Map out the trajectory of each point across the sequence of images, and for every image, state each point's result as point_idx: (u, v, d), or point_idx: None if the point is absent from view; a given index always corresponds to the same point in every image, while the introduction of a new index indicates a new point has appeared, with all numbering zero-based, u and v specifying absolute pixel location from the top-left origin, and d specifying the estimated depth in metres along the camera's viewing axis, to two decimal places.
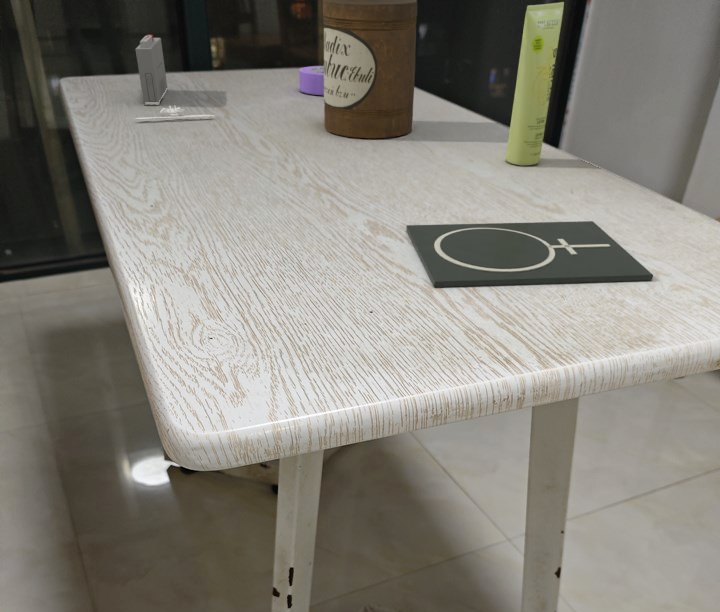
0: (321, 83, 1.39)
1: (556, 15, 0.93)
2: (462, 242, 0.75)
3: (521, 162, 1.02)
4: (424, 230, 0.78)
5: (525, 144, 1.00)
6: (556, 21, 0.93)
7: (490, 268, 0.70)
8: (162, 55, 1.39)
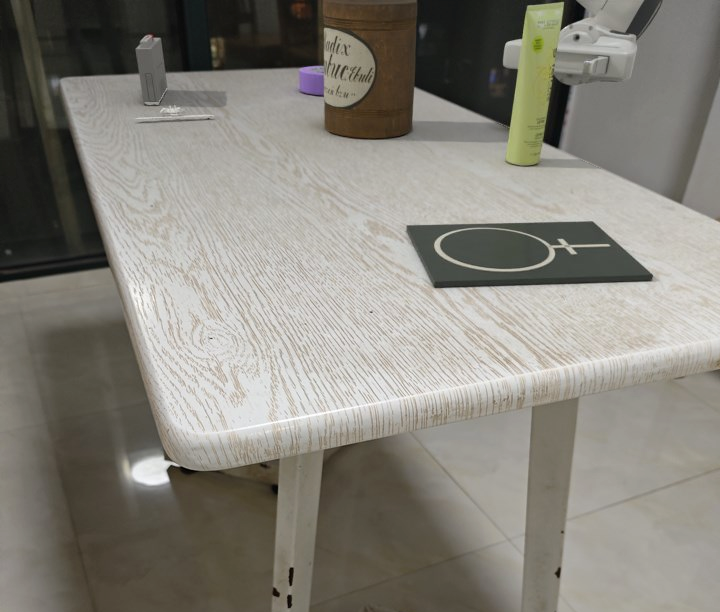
0: (321, 83, 1.39)
1: (556, 15, 0.93)
2: (462, 242, 0.75)
3: (521, 162, 1.02)
4: (424, 230, 0.78)
5: (525, 144, 1.00)
6: (556, 21, 0.93)
7: (490, 268, 0.70)
8: (162, 55, 1.39)
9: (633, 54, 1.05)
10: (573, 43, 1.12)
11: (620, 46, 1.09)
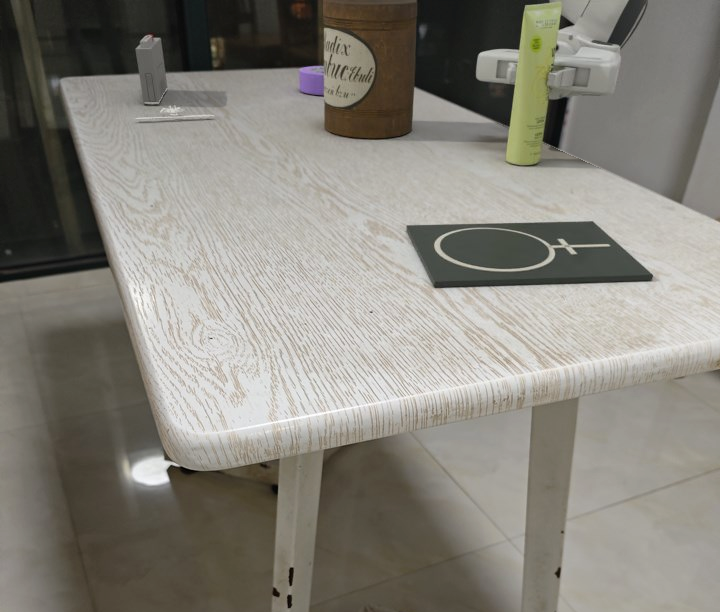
0: (321, 83, 1.39)
1: (554, 15, 0.93)
2: (462, 242, 0.75)
3: (521, 162, 1.02)
4: (424, 230, 0.78)
5: (525, 144, 1.00)
6: (554, 21, 0.94)
7: (490, 268, 0.70)
8: (162, 55, 1.39)
9: (616, 66, 0.96)
10: None
11: (602, 57, 1.00)
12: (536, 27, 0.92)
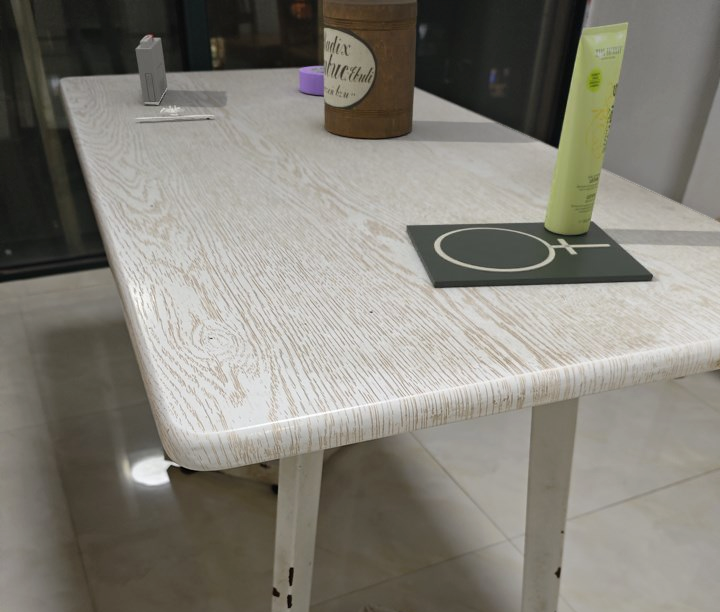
0: (321, 83, 1.39)
1: (618, 40, 0.69)
2: (462, 242, 0.75)
3: (566, 231, 0.77)
4: (424, 230, 0.78)
5: (573, 209, 0.76)
6: (618, 49, 0.69)
7: (490, 268, 0.70)
8: (162, 55, 1.39)
9: None
10: None
11: None
12: (596, 58, 0.67)
